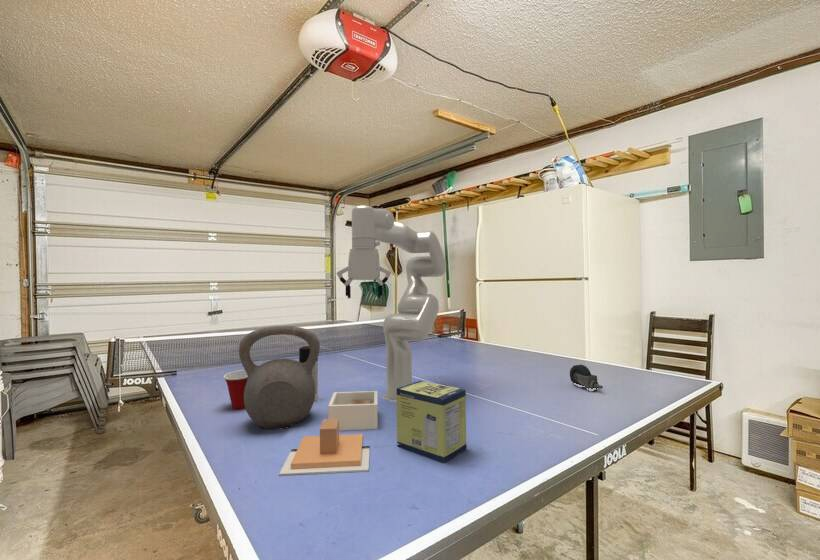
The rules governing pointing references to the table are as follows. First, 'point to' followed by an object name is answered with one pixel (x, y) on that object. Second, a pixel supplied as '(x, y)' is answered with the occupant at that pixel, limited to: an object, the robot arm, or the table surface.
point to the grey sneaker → (583, 377)
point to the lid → (328, 448)
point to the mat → (364, 467)
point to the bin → (354, 410)
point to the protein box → (431, 420)
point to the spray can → (303, 358)
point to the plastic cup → (236, 387)
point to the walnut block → (360, 402)
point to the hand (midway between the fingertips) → (364, 298)
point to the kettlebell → (279, 381)
